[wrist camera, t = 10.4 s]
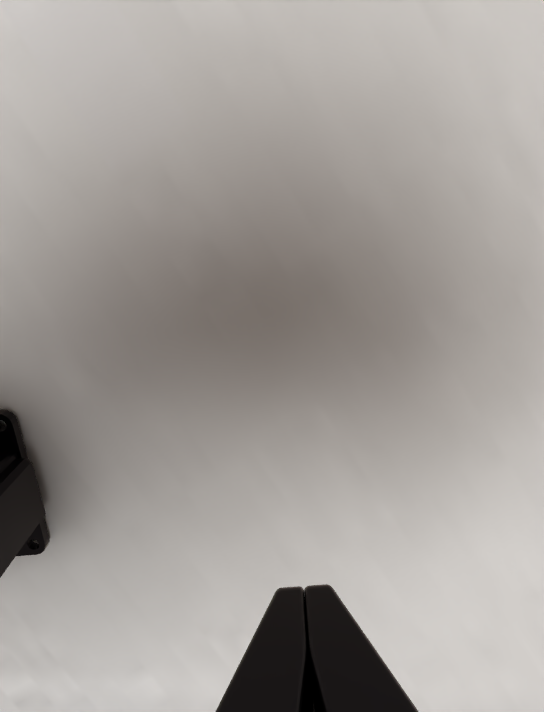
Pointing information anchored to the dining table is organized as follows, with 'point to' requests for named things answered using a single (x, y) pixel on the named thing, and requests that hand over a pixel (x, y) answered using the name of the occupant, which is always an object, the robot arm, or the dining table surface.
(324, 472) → the dining table surface
